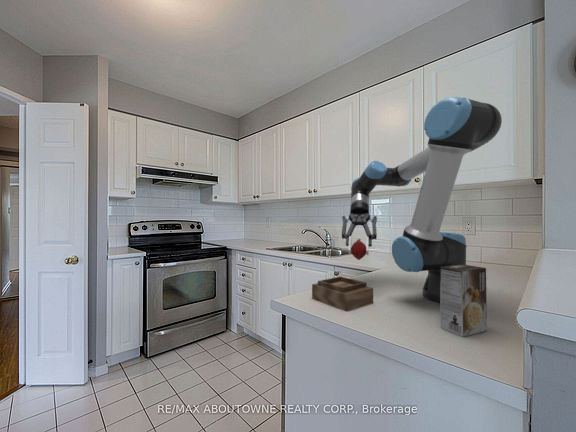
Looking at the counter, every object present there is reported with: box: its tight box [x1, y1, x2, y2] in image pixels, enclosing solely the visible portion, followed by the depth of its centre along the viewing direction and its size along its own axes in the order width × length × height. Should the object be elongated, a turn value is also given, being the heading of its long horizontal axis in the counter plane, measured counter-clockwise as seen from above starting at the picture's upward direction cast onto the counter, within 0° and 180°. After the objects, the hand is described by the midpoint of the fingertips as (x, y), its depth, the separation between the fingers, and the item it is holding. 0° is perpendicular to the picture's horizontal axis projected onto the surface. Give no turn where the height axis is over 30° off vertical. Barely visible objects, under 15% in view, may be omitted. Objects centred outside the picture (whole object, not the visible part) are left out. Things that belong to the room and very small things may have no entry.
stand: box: [311, 276, 374, 312], centre depth 95 cm, size 16×13×6 cm
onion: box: [351, 238, 367, 261], centre depth 104 cm, size 6×6×8 cm
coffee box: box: [439, 264, 488, 338], centre depth 71 cm, size 9×6×16 cm
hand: (358, 252), depth 100 cm, fingers closed on onion, 6 cm apart
